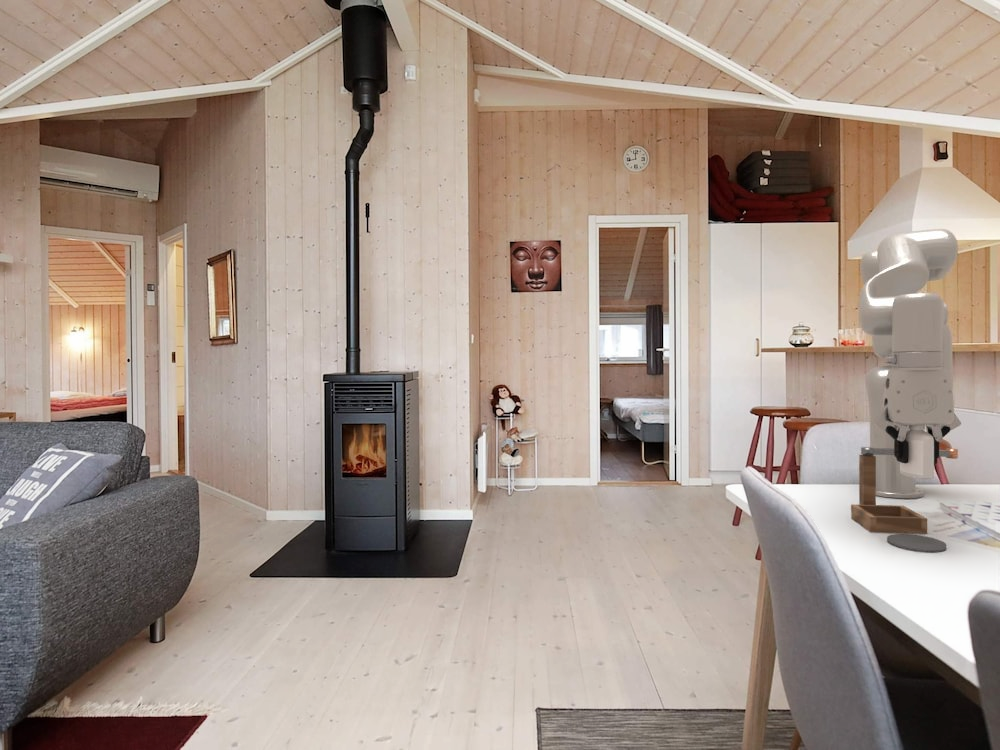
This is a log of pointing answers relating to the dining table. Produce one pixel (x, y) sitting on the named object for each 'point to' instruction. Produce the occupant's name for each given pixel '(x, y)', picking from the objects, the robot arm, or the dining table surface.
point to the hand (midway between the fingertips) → (916, 461)
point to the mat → (916, 543)
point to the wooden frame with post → (882, 506)
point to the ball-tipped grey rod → (888, 451)
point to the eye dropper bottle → (919, 454)
